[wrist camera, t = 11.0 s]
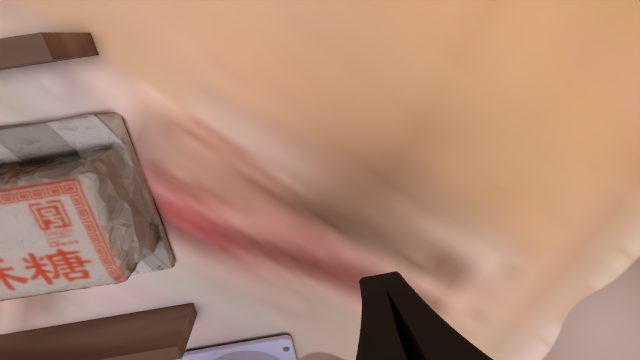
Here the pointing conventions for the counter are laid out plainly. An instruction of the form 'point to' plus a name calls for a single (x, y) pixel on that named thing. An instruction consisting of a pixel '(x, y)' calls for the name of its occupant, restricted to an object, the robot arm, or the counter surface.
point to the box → (106, 333)
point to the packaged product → (74, 208)
